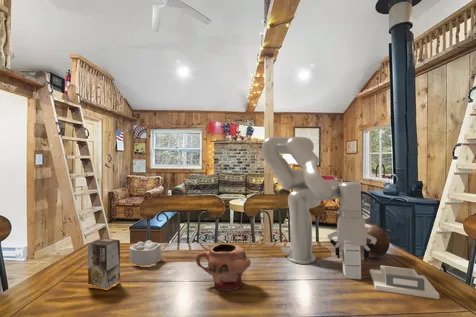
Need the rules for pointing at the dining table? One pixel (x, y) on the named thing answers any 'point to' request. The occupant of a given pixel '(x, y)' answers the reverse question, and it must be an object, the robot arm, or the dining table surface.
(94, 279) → the coffee box
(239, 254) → the sculpted clay mug
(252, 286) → the dining table surface
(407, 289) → the shelf bay
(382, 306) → the dining table surface
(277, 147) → the robot arm
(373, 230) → the wooden sphere
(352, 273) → the syrup box
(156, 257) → the lumpy-topped squat cylinder
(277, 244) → the dining table surface
